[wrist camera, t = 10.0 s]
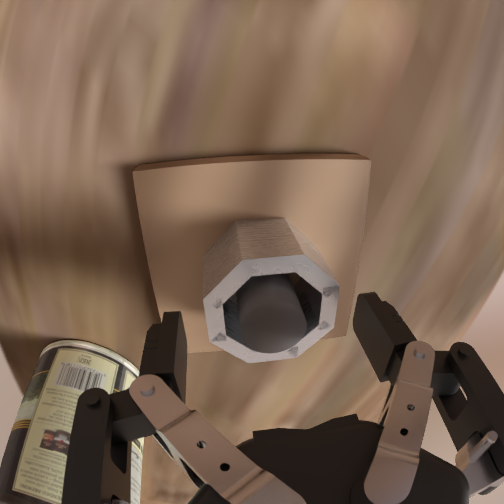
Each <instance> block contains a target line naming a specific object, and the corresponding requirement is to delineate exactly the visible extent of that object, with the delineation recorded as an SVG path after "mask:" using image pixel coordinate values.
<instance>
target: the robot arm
mask: <svg viewBox="0 0 504 504" xmlns="http://www.w3.org/2000/svg"><path fill="white" fill-rule="evenodd" d="M353 328H354V332H355V334H356V336H357V337H358V339H359V341H360V343H361V345H362V347H363V349H364V351H365V353H366V355H367V357H368V359H369V361H370V363H371V365H372V367H373V369H374V371H375V373H376V375H377V377H378V379H379V381H380V382H384V381H388V380H389V381H390V383H391V385H390V387H389V390H388V393H387V396H386V399H385V402H384V405H383V408H382V411H381V414H380V417H379V419H378V422H377V423H374V422H370V421H363V420H359V419H358V417H357V414H352V415H348V416H344V417H339V418H334V419H331V420H329V421H327V422H324V423H322V424H320V425H318V426H315V427H313V428H311V429H287V428H276V429H268V430H259V431H253V438H252V439H249V440H247V441H244V442H242V443H241V444H239V445H237V446H236V447H235V446H234V445H233V444H232V443H231V442H230V441H229V440H227V439H226V438H225V437H224V436H223V435H222V434H221V433H220V432H219V431H218V430H217V429H216V428H215V427H214V426H212V425H211V424H210V423H209V422H208V421H207V420H206V419H205V418H204V417H203V416H202V415H201V414H200V413H199V412H198V411H196V410H193V411H191V410H190V409H189V408H188V407H187V406H186V405H185V396H186V369H187V338H186V333H185V328H184V323H183V318H182V314H181V311H170V312H164V313H163V318H162V324H153V325H152V326H151V327H150V329H149V330H148V331H147V335H146V340H145V345H144V350H143V355H142V360H141V366H140V371H139V376H138V378H136V379H135V380H134V381H133V382H132V383H131V385H130V387H129V388H128V389H126V390H123V391H119V392H116V393H112V394H108V392H107V391H105V390H104V389H102V388H90V389H87V390H86V391H84V392H83V393H82V394H81V395H80V396H79V398H78V401H77V406H76V410H75V415H74V420H73V425H72V430H71V436H70V442H69V448H68V454H67V460H66V467H65V475H64V483H63V492H62V502H61V504H131V452H132V440H135V439H139V438H143V437H147V436H150V435H152V436H153V437H154V438H155V439H156V441H157V442H158V443H159V444H160V445H161V447H162V448H163V449H164V450H165V451H166V453H167V454H168V455H169V456H170V457H171V458H172V460H173V461H174V462H175V463H176V464H177V466H178V467H179V468H180V470H181V471H182V472H183V473H184V475H185V476H186V477H187V478H188V479H189V480H190V481H191V482H192V483H193V484H194V486H195V487H196V488H197V489H198V490H199V491H198V492H197V493H196V494H195V495H194V497H193V498H192V499H191V500H190V501H189V503H188V504H469V498H471V497H473V496H474V495H476V494H480V495H485V494H488V493H490V492H491V491H493V490H494V489H495V488H497V487H498V486H499V485H501V484H502V483H503V482H504V394H503V392H502V391H501V389H500V387H499V386H498V384H497V383H496V381H495V379H494V378H493V376H492V375H491V373H490V372H489V370H488V369H487V367H486V366H485V364H484V363H483V361H482V360H481V358H480V357H479V356H478V354H477V352H476V351H475V350H474V348H472V346H470V345H469V344H467V343H464V342H456V343H454V344H453V345H452V346H451V348H450V350H449V351H434V349H433V348H432V347H431V346H430V345H429V344H427V343H425V342H423V341H417V339H416V338H415V337H414V335H413V334H412V332H411V331H410V329H409V328H408V326H407V325H406V324H405V322H404V321H403V319H402V318H401V316H399V314H398V312H397V311H396V309H395V308H394V307H393V306H392V305H390V304H389V303H387V302H386V301H381V300H380V298H379V297H378V295H377V294H376V293H375V292H370V293H363V294H359V295H358V297H357V302H356V307H355V312H354V317H353ZM460 386H461V387H462V388H463V390H464V392H465V394H466V396H467V400H466V398H465V397H464V395H463V393H462V391H461V389H460ZM432 398H433V400H434V402H435V404H436V406H437V408H438V411H439V413H440V415H441V417H442V419H443V421H444V423H445V425H446V427H447V430H448V432H449V434H450V436H451V438H452V441H453V443H454V445H455V447H456V449H457V452H458V453H457V455H456V459H455V461H456V466H453V465H452V464H450V463H448V462H446V461H444V460H442V459H441V458H439V457H437V456H435V455H433V454H431V453H429V452H428V451H426V450H424V449H422V448H421V444H422V440H423V436H424V432H425V428H426V423H427V419H428V414H429V410H430V404H431V399H432Z"/></svg>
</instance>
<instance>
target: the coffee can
mask: <svg viewBox="0 0 504 504" xmlns="http://www.w3.org/2000/svg"><path fill="white" fill-rule="evenodd" d="M138 376H139V370H138V369H137V368H136V367H135V366H134V365H133V364H132V363H130V362H129V361H127V360H126V359H125V358H123V357H122V356H120V355H119V354H117V353H115V352H113V351H111V350H110V349H107V348H104V347H101V346H99V345H96V344H93V343H89V342H85V341H78V340H61V341H58V342H54V343H52V344H49V345H48V346H47V347H46V348H45V349H44V350H43V351H42V353H41V355H40V358H39V361H38V364H37V366H36V368H35V371H34V373H33V376H32V378H31V380H30V383H29V386H28V388H27V390H26V393H25V395H24V397H23V400H22V403H21V406H20V408H19V411H18V414H17V417H16V420H15V422H14V425H13V428H12V431H11V434H10V437H9V440H8V443H7V447H6V450H5V453H4V456H3V459H2V463H1V467H0V504H61V502H62V492H63V483H64V475H65V467H66V460H67V454H68V448H69V442H70V436H71V430H72V425H73V420H74V415H75V410H76V406H77V401H78V398H79V396H80V395H81V394H82V393H83V392H84V391H86V390H87V389H90V388H102V389H104V390H105V391H107V392H108V394H112V393H116V392H119V391H123V390H126V389H128V388H129V387H130V385H131V383H132V382H133V381H134V380H135V379H136V378H138ZM143 443H144V437H143V438H139V439H135V440H132V452H131V504H140V487H141V469H142V455H143Z"/></svg>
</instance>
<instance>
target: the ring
mask: <svg viewBox="0 0 504 504" xmlns="http://www.w3.org/2000/svg"><path fill="white" fill-rule="evenodd" d="M293 272H296V273H297V274H298V275H300V279H299V281H298V282H296V283H295V284H294V285H293V288H294V290H295V293H296V295H297V298H298V300H299V303H300V306H301V308H302V311H303V313H304V316H305V319H306V322H307V328H306V332H305V334H304V336H303V337H302V339H301V340H300V341H299V342H298V343H297V344H296V345H294V346H293V347H291V348H289V349H287V350H285V351H282V352H278V353H260V352H257V351H254V350H252V349H251V348H249V347H248V346H247V345H246V344H245V343H244V341H243V339H242V334H241V327H240V319H239V311H238V304H237V296H235V295H234V293H235V292H236V291H237V290H238V289H239V288H240V287H241V286H242V285H243V284H244V283H245V282H246V281H247V280H248V279H249V278H250V277H251V276H261V275H272V274H282V273H293ZM339 290H340V285H339V283H338V281H337V280H336V278H335V276H334V275H333V273H332V272H331V270H330V268H329V267H328V265H327V263H326V262H325V260H324V258H323V257H322V255H321V254H320V252H319V250H318V249H317V247H316V246H315V245H314V244H313V243H312V242H311V241H310V240H309V239H308V238H307V237H306V236H304V235H303V234H302V233H301V232H300V231H299V230H298V229H297V228H296V227H294V226H293V225H292V224H291V223H290V222H289V221H288V220H287V219H285V218H284V217H281V218H267V219H253V220H240V221H235V222H234V223H233V224H232V225H231V226H230V227H229V228H228V229H227V230H226V232H225V233H224V234H223V235H222V236H221V237H220V238H219V239H218V240H217V241H216V242H215V243H214V244H213V245H212V247H211V248H210V249H209V250H208V251H207V252H206V253H205V254H204V274H203V303H204V310H205V316H206V323H207V329H208V335H209V342H211V343H213V344H214V345H216V346H218V347H220V348H221V349H223V350H225V351H227V352H229V353H231V354H232V355H234V356H236V357H238V358H240V359H242V360H244V361H245V362H247V363H255V362H264V361H273V360H281V359H288V358H296V357H298V356H299V355H301V354H302V353H303V352H304V351H306V350H307V349H308V348H309V347H311V346H312V345H313V344H314V343H316V342H317V341H318V340H319V339H321V338H322V337H323V336H324V335H326V334H327V333H328V332H329V331H330V330H332V329H333V328H334V323H335V317H336V311H337V304H338V297H339Z"/></svg>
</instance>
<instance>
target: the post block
mask: <svg viewBox="0 0 504 504" xmlns="http://www.w3.org/2000/svg"><path fill="white" fill-rule="evenodd" d="M370 169H371V160H370V159H368V158H366V157H364V156H362V155H360V154H268V155H245V156H227V157H213V158H200V159H189V160H178V161H168V162H159V163H150V164H142V165H138V166H137V167H136V168H135V169H134V170H133V171H132V173H133V181H134V188H135V194H136V201H137V207H138V213H139V219H140V225H141V230H142V236H143V241H144V246H145V251H146V256H147V261H148V266H149V271H150V276H151V280H152V285H153V289H154V294H155V298H156V302H157V306H158V310H159V314H160V318H161V322H162V318H163V313H164V312H170V311H181V314H182V318H183V323H184V328H185V333H186V338H187V353H194V352H210V351H223V349H221V348H220V347H218V346H216V345H214V344H213V343H211V342H209V335H208V329H207V323H206V316H205V310H204V303H203V274H204V254H205V253H206V252H207V251H208V250H209V249H210V248H211V247H212V245H213V244H214V243H215V242H216V241H217V240H218V239H219V238H220V237H221V236H222V235H223V234H224V233H225V232H226V230H227V229H228V228H229V227H230V226H231V225H232V224H233V223H234V222H235V221H240V220H253V219H267V218H281V217H284V218H285V219H287V220H288V221H289V222H290V223H291V224H292V225H293V226H294V227H296V228H297V229H298V230H299V231H300V232H301V233H302V234H303V235H304V236H306V237H307V238H308V239H309V240H310V241H311V242H312V243H313V244H314V245H315V246H316V247H317V249H318V250H319V252H320V254H321V255H322V257H323V258H324V260H325V262H326V263H327V265H328V267H329V268H330V270H331V272H332V273H333V275H334V276H335V278H336V280H337V281H338V283H339V285H340V290H339V297H338V304H337V311H336V317H335V323H334V328H333V329H332V330H330V331H329V332H328V333H327V334H326V335H324V336H323V337H322V338H321V339H328V338H335V337H341V336H346V333H347V328H348V323H349V318H350V313H351V308H352V303H353V297H354V292H355V286H356V280H357V274H358V268H359V262H360V255H361V249H362V241H363V234H364V226H365V218H366V210H367V201H368V191H369V180H370ZM299 279H300V275H298V274H297V273H296V272H293V273H282V274H272V275H261V276H251V277H250V278H249V279H248V280H247V281H246V282H245V283H244V284H243V285H242V286H241V287H240V288H239V289H238V290H237V291H236V292H235V293H234V295H235V296H237V304H238V311H239V319H240V327H241V334H242V339H243V341H244V343H245V344H246V345H247V346H248V347H249V348H251V349H252V350H254V351H257V352H260V353H278V352H282V351H285V350H287V349H289V348H291V347H293V346H294V345H296V344H297V343H298V342H299V341H300V340H301V339H302V337H303V336H304V334H305V332H306V328H307V322H306V319H305V316H304V313H303V311H302V308H301V306H300V303H299V300H298V298H297V295H296V293H295V290H294V288H293V285H294V284H295V283H296V282H298V281H299ZM321 339H319V340H321Z"/></svg>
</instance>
